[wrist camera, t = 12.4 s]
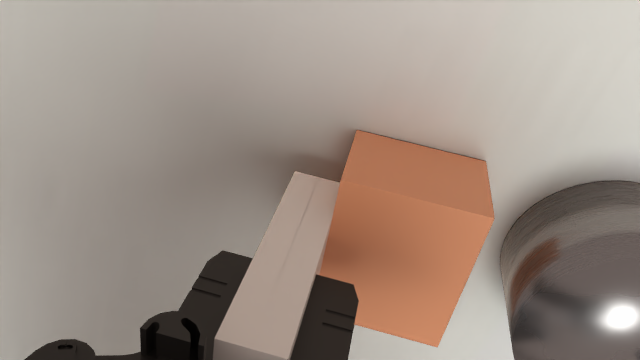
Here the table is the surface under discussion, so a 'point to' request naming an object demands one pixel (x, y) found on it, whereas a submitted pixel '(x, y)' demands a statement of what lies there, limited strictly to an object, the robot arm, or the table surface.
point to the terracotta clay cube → (407, 233)
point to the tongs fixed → (576, 275)
